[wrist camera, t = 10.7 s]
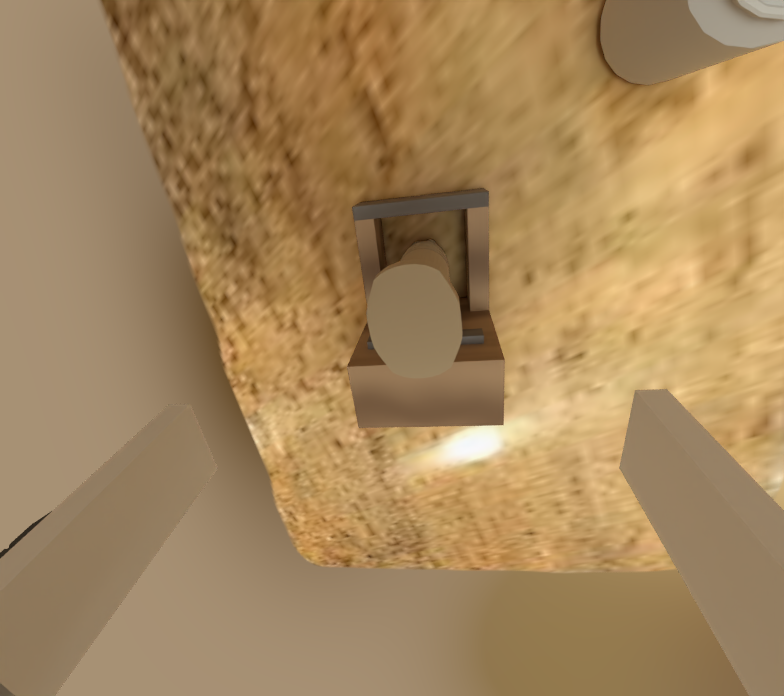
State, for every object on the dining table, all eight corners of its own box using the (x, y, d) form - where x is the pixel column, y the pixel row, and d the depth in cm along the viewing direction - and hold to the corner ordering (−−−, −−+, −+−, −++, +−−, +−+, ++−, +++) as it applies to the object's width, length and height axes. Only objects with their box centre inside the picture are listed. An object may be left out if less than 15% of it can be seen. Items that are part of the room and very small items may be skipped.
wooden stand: (360, 202, 31) (319, 224, 21) (483, 188, 30) (507, 204, 19) (382, 351, 37) (358, 427, 27) (484, 345, 36) (503, 425, 25)
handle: (404, 295, 34) (380, 382, 21) (392, 223, 32) (356, 271, 18) (457, 288, 34) (467, 374, 20) (449, 213, 31) (454, 257, 18)
